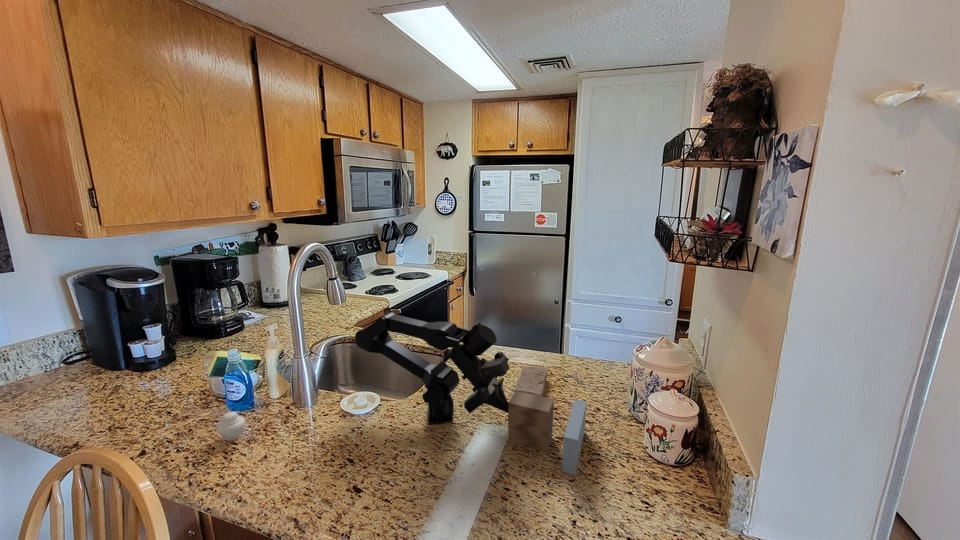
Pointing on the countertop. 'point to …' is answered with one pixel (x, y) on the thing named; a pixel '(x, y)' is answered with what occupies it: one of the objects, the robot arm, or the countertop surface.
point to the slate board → (574, 437)
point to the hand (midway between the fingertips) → (509, 411)
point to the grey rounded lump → (231, 426)
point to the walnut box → (530, 420)
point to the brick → (532, 380)
